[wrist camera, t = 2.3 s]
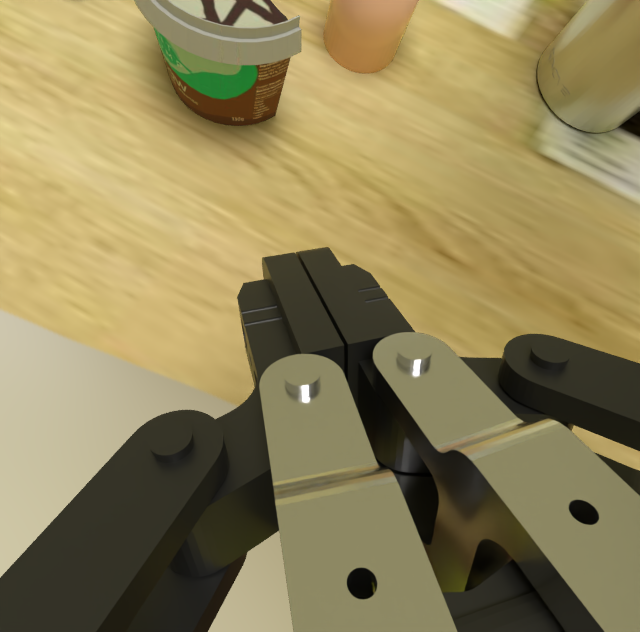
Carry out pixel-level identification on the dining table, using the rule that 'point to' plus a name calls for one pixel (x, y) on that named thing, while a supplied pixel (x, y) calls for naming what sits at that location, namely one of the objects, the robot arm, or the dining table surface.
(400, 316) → the robot arm
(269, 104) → the food container
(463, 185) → the dining table surface
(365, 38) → the peach rounded cylinder
